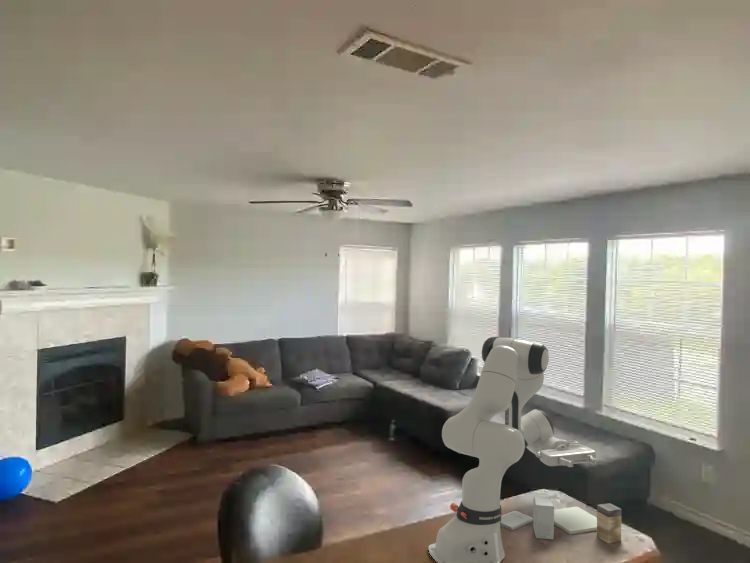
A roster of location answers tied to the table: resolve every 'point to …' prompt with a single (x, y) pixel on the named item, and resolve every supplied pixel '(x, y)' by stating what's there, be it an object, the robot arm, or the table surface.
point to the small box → (543, 518)
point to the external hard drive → (514, 520)
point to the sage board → (574, 520)
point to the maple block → (609, 522)
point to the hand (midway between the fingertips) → (583, 463)
